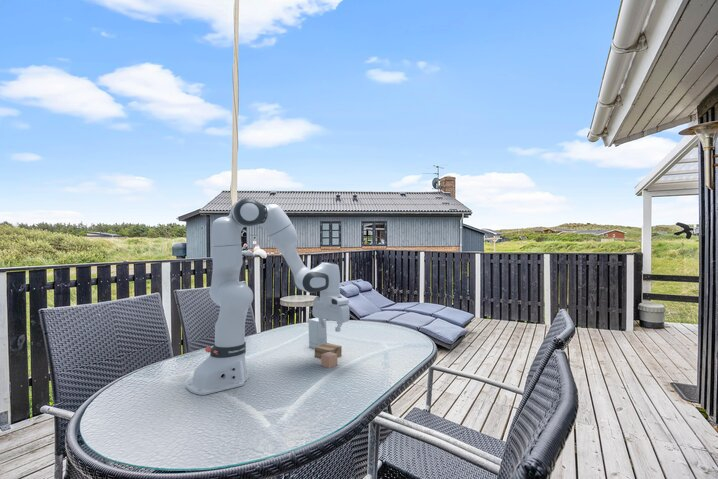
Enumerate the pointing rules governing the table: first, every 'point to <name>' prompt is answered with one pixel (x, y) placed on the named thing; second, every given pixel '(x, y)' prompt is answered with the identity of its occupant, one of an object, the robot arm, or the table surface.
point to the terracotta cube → (329, 359)
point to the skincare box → (316, 333)
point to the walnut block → (327, 349)
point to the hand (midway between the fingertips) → (330, 329)
